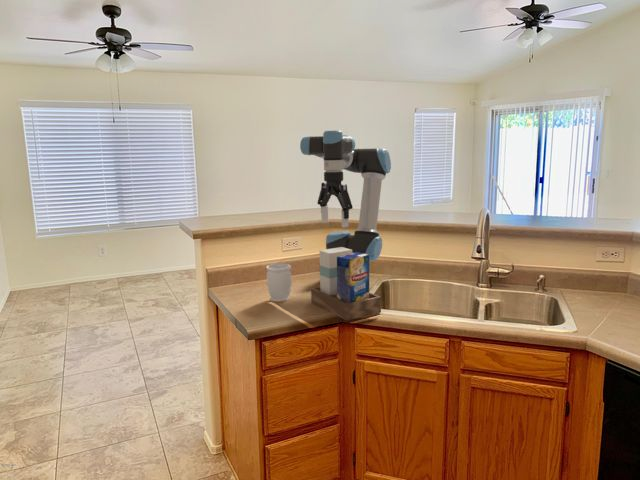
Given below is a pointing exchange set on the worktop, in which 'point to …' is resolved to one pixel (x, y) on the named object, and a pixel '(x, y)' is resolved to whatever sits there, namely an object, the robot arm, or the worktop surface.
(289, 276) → the jar
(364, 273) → the blue food box
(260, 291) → the worktop surface
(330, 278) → the banded carton
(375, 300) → the bin
